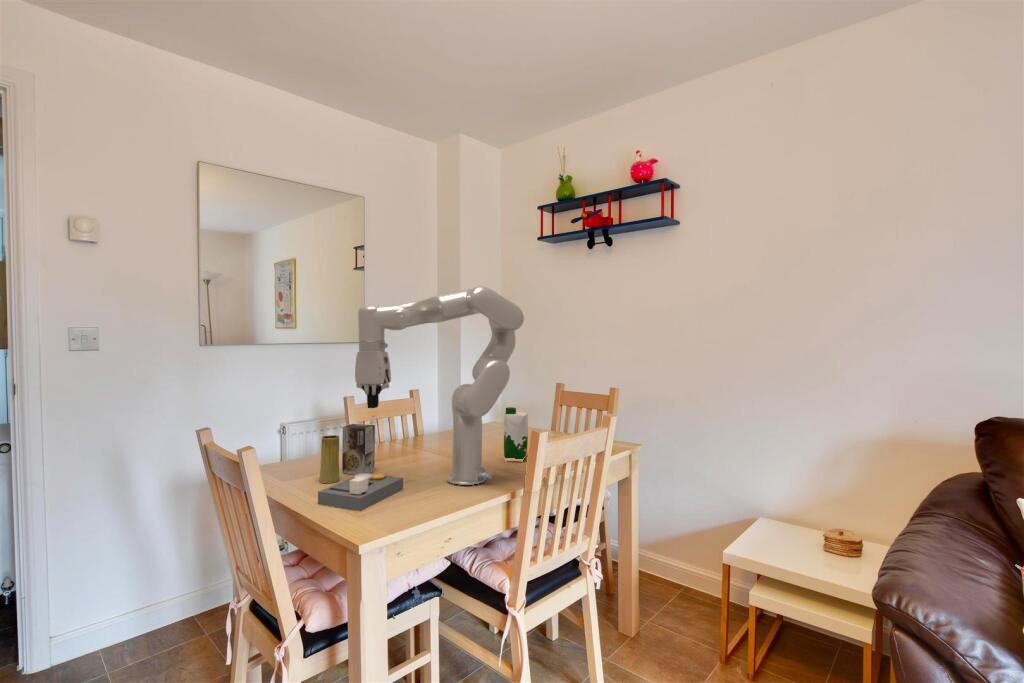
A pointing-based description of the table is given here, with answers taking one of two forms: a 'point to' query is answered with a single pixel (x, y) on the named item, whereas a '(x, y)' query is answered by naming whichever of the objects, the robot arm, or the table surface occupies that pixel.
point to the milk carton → (515, 434)
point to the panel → (345, 499)
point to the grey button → (364, 476)
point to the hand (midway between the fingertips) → (373, 407)
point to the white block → (358, 485)
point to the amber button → (377, 476)
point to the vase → (329, 459)
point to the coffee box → (358, 449)
